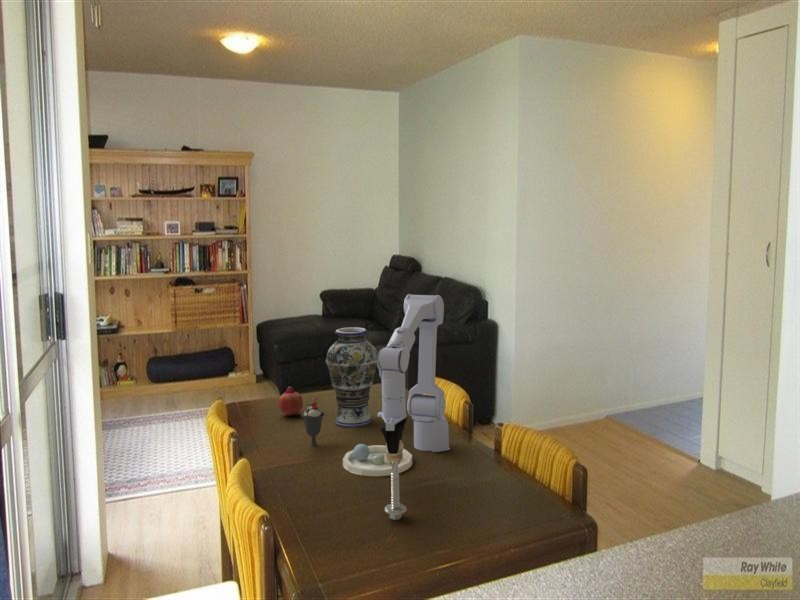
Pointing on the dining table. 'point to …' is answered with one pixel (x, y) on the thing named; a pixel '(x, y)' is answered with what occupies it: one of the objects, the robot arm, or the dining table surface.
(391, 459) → the bead oak
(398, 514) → the screw
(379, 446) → the tray
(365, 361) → the vase
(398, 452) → the bead birch
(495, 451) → the dining table surface
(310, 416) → the sundae
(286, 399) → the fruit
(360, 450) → the bead blue
